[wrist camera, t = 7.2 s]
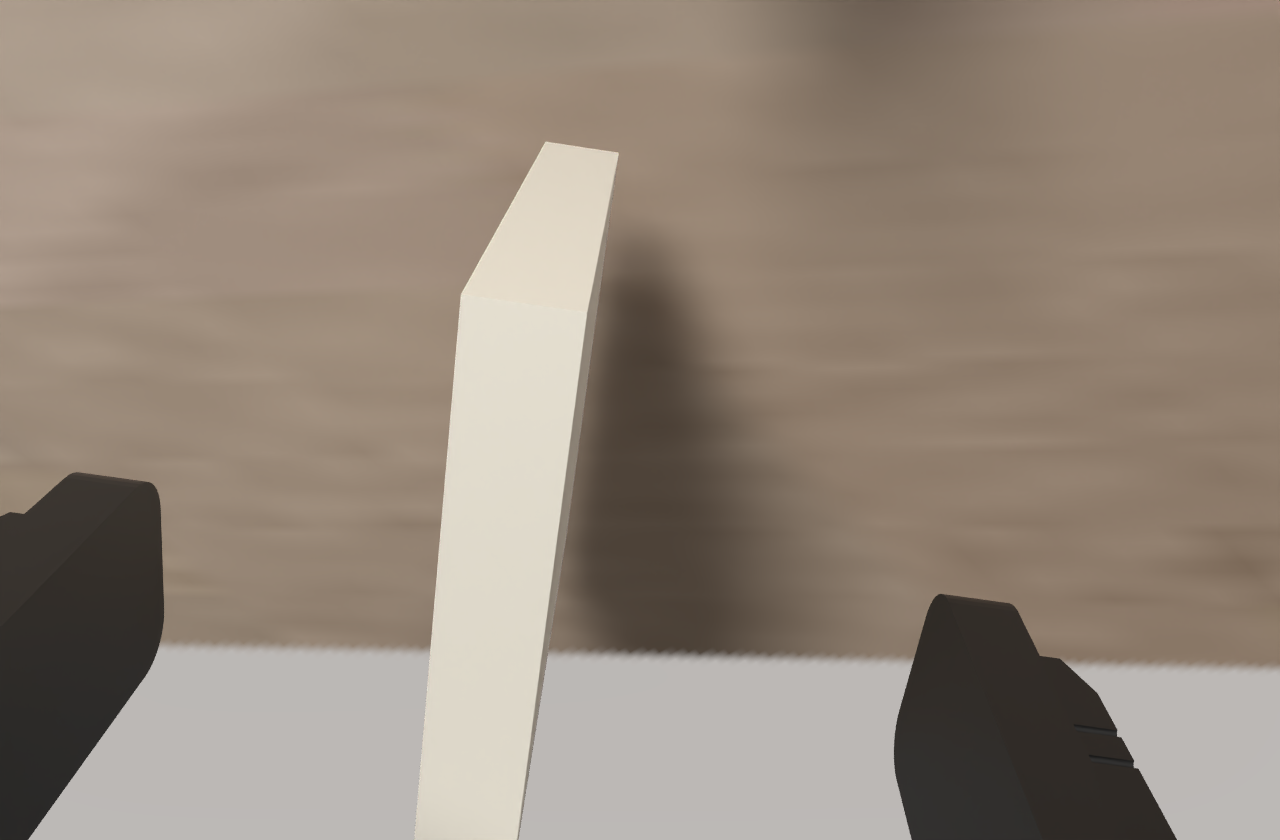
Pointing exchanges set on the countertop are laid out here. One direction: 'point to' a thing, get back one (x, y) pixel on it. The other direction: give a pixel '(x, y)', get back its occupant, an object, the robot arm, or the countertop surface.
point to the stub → (510, 491)
